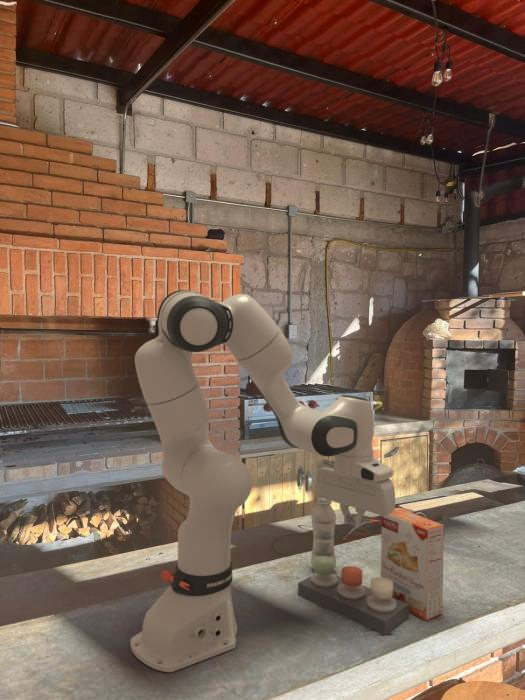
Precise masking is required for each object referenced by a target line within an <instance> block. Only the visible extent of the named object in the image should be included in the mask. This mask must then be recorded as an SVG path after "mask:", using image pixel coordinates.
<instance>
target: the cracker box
mask: <svg viewBox="0 0 525 700" xmlns="http://www.w3.org/2000/svg"><path fill="white" fill-rule="evenodd" d="M444 528H445V525H444V524H441V523H439V522H436V521H434V520H431V519H429V518H426V517H424V516H421V515H418V514H416V513H413V512H410V511H407V510H405V509H402V508H401V507H395V509H394V511H393V512H392V513H391V514H389V515H386V516H382V515H381V542H380V543H381V546H380V547H381V549H380V550H381V551H380V577H383V578H387V579H389V580H391V581H392V582H393V596H392V598H395V599H397V600H400V601H402V602H405V603H407V604H409V613H411V614H413V615H414V616H415V617H418V618H419V619H422V620H423V621H424V622H427V621H429V620H431V619H433V618H436V617H439V616H441V615H442V614H443V590H444V589H443V586H444V585H443V584H444V582H443V581H444V579H443V578H444V542H445V541H444V539H445V538H444V537H445V536H444V535H445V531H444Z"/></svg>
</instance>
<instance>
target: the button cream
mask: <svg viewBox="0 0 525 700" xmlns="http://www.w3.org/2000/svg"><path fill="white" fill-rule="evenodd" d="M370 589H371V595H372V596H374V597H376V598H379V599H389V598H391V597H392V596H393V582H392V581H391V580H389V579H387V578H383V577H381V576H377V577H373V578H372V579H371V580H370Z"/></svg>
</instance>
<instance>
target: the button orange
mask: <svg viewBox="0 0 525 700" xmlns="http://www.w3.org/2000/svg"><path fill="white" fill-rule="evenodd" d="M340 577H341V582H342V583H343V584H344V585H347V586H352V587H356V586H360V585H362V584H363V570H362V569H361V568H360V567H358V566H354V565H353V566H352V565H348V566H344V567H342V568H341V572H340Z"/></svg>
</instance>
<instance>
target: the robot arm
mask: <svg viewBox="0 0 525 700" xmlns="http://www.w3.org/2000/svg"><path fill="white" fill-rule="evenodd" d="M156 318H157V319H156V324H155V330H154V334H155V338H153V339H151V340H148V341H146V342H144V344H143V345H141V346H140V347H139V348H138V349H137V351H136V353H135V355H134V364H135V371H136V375H137V379H138V380H137V381H138V383H139V386H140V389H141V392H142V395H143V398H144V400H145V402H146V405H147V408H148V411H149V413H150V415H151V418H152V420H153V422H154V425H155V427H156V430H157V432H158V436H159V438H160V442H161V447H162V455H163V457H162V462H161V471H162V474H163V475H164V478H165V479H166V480H167V482H168V483H169V484H170V485H171V486H172V487H173V488H174V489H175V490H177V491H179V493H180V492H181V493H182V494H184V495H186V496H188V498H189V509H188V513H187V517H186V519H185V520H184V521H182V523H181V524H180V525H179V528H178V531H177V563H176V565H175V568H174V571H173V573H172V572H170V571H169V570H166V569H164V570H163V571H162V572H161V574H160V578H161V579H160V580H162V581H164V582H166V583H167V584H168V583H170V585H169V587H167V588H166V590H165V591H164V592H163V593H162V594H161V596H160V597H159V598H158V599H157V600H156V601H155V602H154V604H153V605H152V606H151V607H150V608H149V609H148V610H147V611H146V613H145V615H144V618H143V622H142V630H141V631H140V632H138V633H137V634H135V635H134V636H133V637H131V638H130V651H131V652H132V654H133V655H134V656H135V657H136V659H138V660H139V661H141V662H142V663H143V664H144V665H146V666H148V667H150V668H151V669H154V670H156V671H161V672H164V673H173V672H176V671H178V670H181V669H185V668H186V667H189V666H192V665H195V664H196V663H199V662H203V661H204V660H207V659H210V658H213V657H215V656H218V655H220V654H223V653H226V652H229V651H231V650H234V649H235V648H236V647H237V640H236V636H237V634H238V624H237V622H236V618H235V614H234V607H233V600H232V599H233V597H232V587H231V586H232V585H231V584H232V583H233V563H232V561H231V550H232V549H231V548H232V547H231V546H232V545H231V544H232V543H231V541H232V540H231V539H232V528H233V523H234V519H235V516H236V513H237V511H238V509H239V508H240V507H241V506H243V504H245V503H246V502H247V500H248V499H249V496H250V495H251V492H252V489H253V483H254V481H253V475H252V472H251V470H250V468H249V467H248V466H247V465H246V464H245V463H244V462H242V461H241V460H240V459H239V458H237V457H236V456H235V455H233V454H231V453H228V452H226V451H222V450H219V449H216V447H214V445H213V444H212V443H211V441H210V437H209V432H208V431H209V430H208V425H209V423H210V421H211V412H210V409H209V406H208V404H207V402H206V399H205V397H204V396H205V395H204V393H203V392H202V391H203V390H202V388H201V386H200V383H199V380H198V379H197V376H196V373H195V370H194V366H193V363H192V354H193V353H201V352H205V351H208V350H210V349H213V348H214V347H216V346H217V347H218V346H219V345H222V344H223V345H224V346H225V347H227V349H228V350H229V352H230V353H231V355H232V356H233V357H234V359H235V360H236V362H237V363H238V364H239V365H240V366H241V368H242V369H243V370H244V372H245V373H246V375H248V376H249V378H250V379H251V380H252V382H253V383H254V386H255V387H256V388H257V391H258V392H259V393H260V395H261V397H263V399H264V400H265V402H266V404H267V405H268V407H269V408H270V410H271V411H272V413H273V415H274V417H275V419H276V422H277V425H278V429H279V430H278V431H279V432H280V433H279V434H280V437H281V438H282V441H284V442H285V444H287V445H288V446H289V447H291V448H295V449H300V450H303V451H307V452H309V453H312V454H315V455H318V456H319V457H326V458H327V457H333V456H334V460H329V459H328V458H327V459H326V458H323V459H321V460H319V461H318V463H317V467H316V470H317V471H316V472H317V473H316V476H315V477H316V478H315V483H314V485H315V486H314V493H315V496H316V498H317V497H319V498H323V499H326V500H330V501H331V502H334V503H337V504H339V508H340V511H341V512H342V513H341V514H342V515H343V523H344V524H347V525H351V526H353V527H356V528H359V527H361V526H362V518H363V517H364V515H365V513H366V512H368V513H373V514H377V515H379V516H381V517H382V516H386V515H389V514H391V513H392V512H393V511H394V509H395V508H396V490H395V485H394V482H393V481H392V480H391V479H390V478H393V476H394V470H393V468H392V467H390V466H389V465H387V464H385V463H383V462H381V461H380V460H378V459H377V458H376V457H374V449H373V445H372V444H373V438H374V435H375V434H374V433H375V431H374V429H375V425H374V424H375V422H374V421H375V420H374V411H373V406H372V403H371V401H370V400H369V399H367V398H364V397H361V396H355V395H349V394H342V395H341V394H340V395H339V396H338V398H337V399H336V400H334V402H333V403H331V404H330V405H329V406H327V407H326V408H323V409H321V410H319V409H314V408H311V407H308V406H307V405H304V404H303V403H301V402H300V401H299V400H298V399H297V398H296V396H295V394H294V393H293V391H292V390H291V388H290V386H289V384H288V383H287V381H286V379H285V377H284V375H285V373H286V372H287V371H288V370H289V368H290V366H291V363H292V359H293V350H292V348H291V346H290V343H289V341H288V339H287V338H286V336H285V334H284V333H283V332H282V329H280V327H279V326H278V324H277V323H276V322H275V320H274V319H273V318H272V317H271V316H270V314H269V313H268V312H267V311H266V310H265V308H264V307H262V305H260V303H259V302H258V301H257V300H255V299H254V298H253V297H252V296H251V295H248V294H246V293H238V294H233V295H231V296H228V297H227V298H225V299H224V300H223V301H221V302H217V301H215V300H213V299H211V298H208V297H206V296H205V295H204V294H202V293H200V292H197V291H193V290H188V289H180V290H175V291H173V292H171V293H169V294H168V295H166V297H165V298H164V299H163V300H162V301H161V303H160V305H159V307H158V311H157V317H156ZM350 507H351V508H355V513H356V516H354V515H352V514H351V511H350V509H349V508H350Z"/></svg>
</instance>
